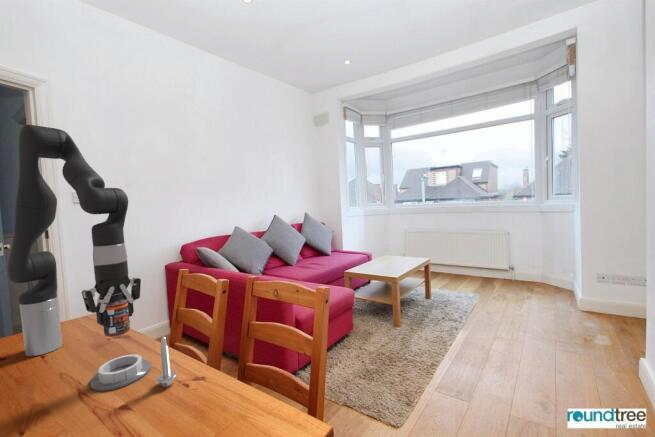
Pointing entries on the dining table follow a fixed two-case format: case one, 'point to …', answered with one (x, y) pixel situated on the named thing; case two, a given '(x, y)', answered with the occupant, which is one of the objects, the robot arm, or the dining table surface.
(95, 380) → the bottle coaster
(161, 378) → the screw
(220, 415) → the dining table surface
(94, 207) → the robot arm
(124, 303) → the supplement bottle
